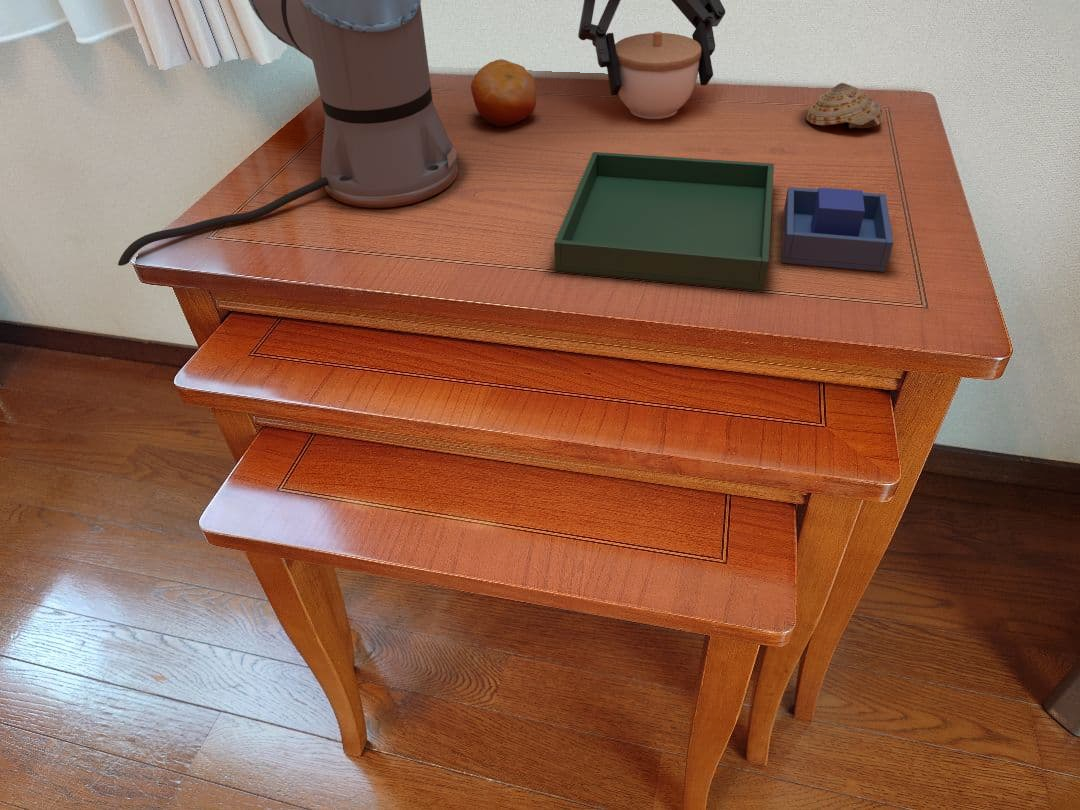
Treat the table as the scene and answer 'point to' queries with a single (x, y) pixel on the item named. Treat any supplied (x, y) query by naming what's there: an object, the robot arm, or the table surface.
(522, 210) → the table surface
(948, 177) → the table surface
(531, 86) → the fruit
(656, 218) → the green tray
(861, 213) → the blue block
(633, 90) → the trinket box
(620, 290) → the table surface
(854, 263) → the blue tray
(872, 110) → the seashell
